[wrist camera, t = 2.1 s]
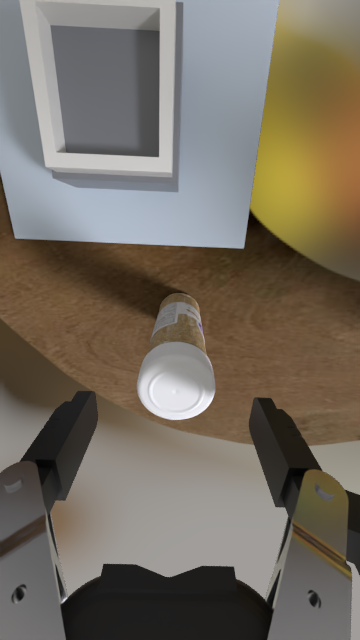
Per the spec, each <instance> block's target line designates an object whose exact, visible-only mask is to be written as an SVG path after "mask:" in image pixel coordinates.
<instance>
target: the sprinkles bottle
mask: <svg viewBox="0 0 360 640" xmlns="http://www.w3.org/2000/svg"><path fill="white" fill-rule="evenodd" d="M137 392H138V395H139V398H140V400H141V402H142V403H143V405H144V406H145V407H146V408H147V409H148V410H149V411H151V412H152V413H154V414H155V415H157V416H160V417H163V418H166V419H172V420H181V419H187V418H191V417H193V416H196V415H198V414H199V413H201V412H202V411H204V410H205V409H206V408H207V407H208V406H209V404H210V403H211V401H212V399H213V397H214V394H215V379H214V373H213V369H212V365H211V362H210V360H209V358H208V357H207V355H206V349H205V340H204V335H203V329H202V323H201V318H200V309H199V306H198V303H197V302H196V300H195V299H194V298H192V297H191V296H189V295H188V294H184V293H174V294H171V295H169V296H168V297H166V298H165V299H164V300H163V301H162V303H161V305H160V309H159V314H158V317H157V320H156V323H155V327H154V330H153V334H152V337H151V341H150V347H149V351H148V354H147V355H146V357H145V359H144V360H143V362H142V365H141V369H140V372H139V376H138V381H137Z"/></svg>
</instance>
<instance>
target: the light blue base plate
mask: <svg viewBox="0 0 360 640" xmlns="http://www.w3.org/2000/svg"><path fill="white" fill-rule="evenodd" d="M278 4H279V0H0V173H1V177H2V182H3V186H4V191H5V195H6V200H7V204H8V208H9V213H10V217H11V222H12V226H13V231H14V235H15V238H16V239H38V240H61V241H84V242H107V243H130V244H152V245H175V246H198V247H221V248H244V244H245V237H246V230H247V223H248V216H249V209H250V201H251V194H252V188H253V180H254V173H255V167H256V160H257V152H258V145H259V139H260V132H261V124H262V117H263V110H264V103H265V96H266V89H267V82H268V75H269V67H270V61H271V54H272V47H273V40H274V33H275V26H276V18H277V12H278Z"/></svg>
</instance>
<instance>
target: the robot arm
mask: <svg viewBox="0 0 360 640" xmlns="http://www.w3.org/2000/svg"><path fill="white" fill-rule="evenodd" d="M97 421H98V411H97V403H96V395H95V392H94V391H78V392H77V393H76V394H75V396H74V397H73V399H72V401H71V402H68V401H67V402H64V403H63V404H62V405H60V406H59V407H58V408H57V409H55V411H54V413H53V414H52V415H51V417H50V418H49V421H47V423H46V424H45V426H44V428H43V429H42V430H41V431H40V433H39V435H38V436H37V437H36V439H35V440H34V442H33V443H32V444H31V446H30V448H29V449H28V450H27V452H26V453H25V455H24V456H23V458H22V459H21V460H20V462H18V463H15V464H13V465H11V466H9V467H7V468H6V469H4V470H3V471H2V472H1V473H0V640H350V637H351V601H352V572H351V568H350V566H349V565H347V563H346V561H349V562H351V563H354V564H355V566H356V568H357V570H358V572H359V575H360V495H358V494H355V493H352V492H349V491H347V490H345V489H344V488H343V487H342V485H341V484H340V483H339V482H338V481H337V480H336V479H335V478H333V477H332V476H331V475H329V474H327V473H326V472H323V471H322V469H321V468H320V466H319V464H318V462H317V461H316V459H315V457H314V456H313V454H312V452H311V450H310V449H309V447H308V445H307V444H306V442H305V440H304V438H302V435H301V433H300V432H299V430H298V429H297V427H296V425H295V423H294V421H293V420H292V418H291V417H290V416H289V415H288V414H287V413H286V412H285V411H284V410H282V409H277V408H276V406H275V404H274V402H273V400H272V399H271V398H254V400H253V405H252V410H251V414H250V419H249V430H250V434H251V437H252V440H253V443H254V446H255V449H256V451H257V454H258V457H259V460H260V463H261V466H262V469H263V472H264V475H265V478H266V481H267V484H268V486H269V489H270V492H271V495H272V498H273V501H274V504H275V507H285V508H286V511H287V513H288V518H287V521H286V525H285V529H284V533H283V537H282V541H281V544H280V548H279V552H278V556H277V560H276V563H275V567H274V571H273V574H272V577H271V580H270V583H269V587H268V590H267V594H266V597H265V599H263V597H262V596H260V594H259V593H257V592H256V591H255V590H254V589H252V588H251V587H250V586H248V585H247V584H245V583H243V582H242V581H240V580H237V579H236V577H235V571H234V567H227V566H226V567H224V566H223V567H222V566H201V567H198V568H195V569H192V570H190V571H187V572H184V573H181V574H179V575H176V576H173V577H164V576H162V575H160V574H157V573H155V572H153V571H150V570H148V569H145V568H143V567H140V566H138V565H133V564H103V569H102V573H101V576H99V577H97V578H95V579H93V580H91V581H89V582H87V583H85V584H84V585H82V586H81V587H80V588H78V589H77V590H76V591H75V592H73V593H72V594H71V595H70V596H69V597H68V594H67V589H66V584H65V580H64V576H63V572H62V568H61V563H60V558H59V553H58V548H57V543H56V538H55V533H54V527H53V522H52V517H51V513H50V511H51V509H52V507H53V505H54V503H55V501H56V500H66V498H67V495H68V493H69V490H70V488H71V486H72V483H73V481H74V479H75V476H76V474H77V471H78V469H79V467H80V464H81V462H82V459H83V457H84V454H85V452H86V450H87V447H88V445H89V443H90V440H91V437H92V436H93V433H94V431H95V429H96V425H97Z"/></svg>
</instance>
